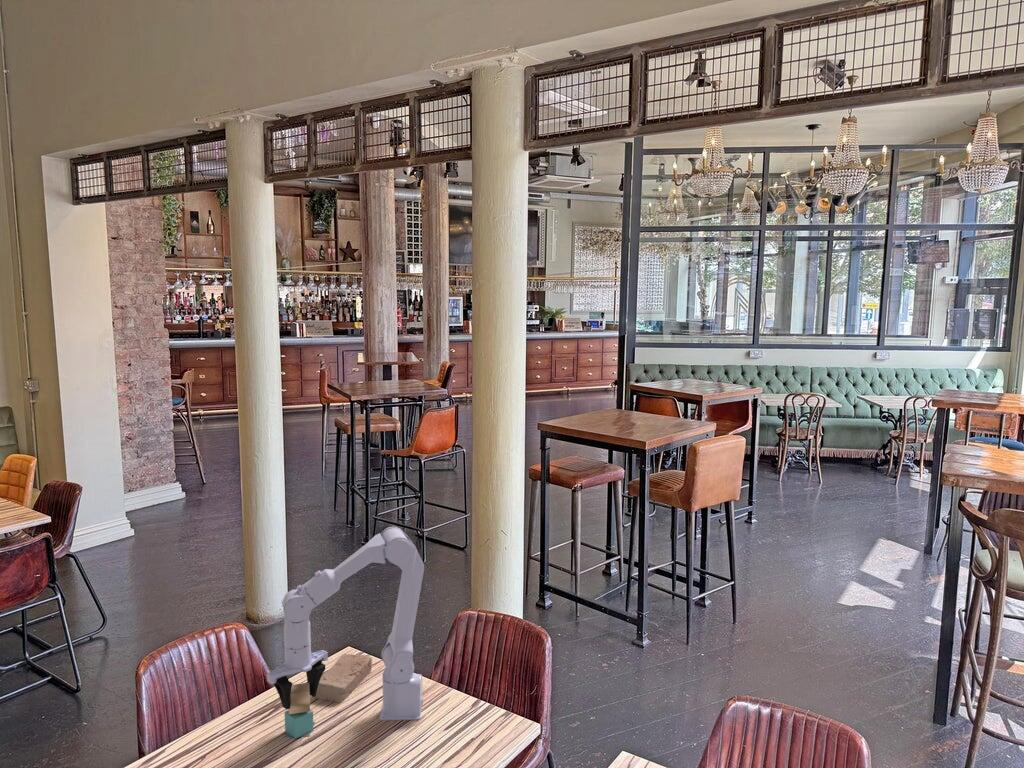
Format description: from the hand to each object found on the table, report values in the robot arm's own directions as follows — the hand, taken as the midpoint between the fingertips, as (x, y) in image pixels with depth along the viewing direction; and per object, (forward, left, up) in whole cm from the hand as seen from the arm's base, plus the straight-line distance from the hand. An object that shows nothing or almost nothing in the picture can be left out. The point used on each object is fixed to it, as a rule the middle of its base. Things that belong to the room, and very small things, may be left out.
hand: (299, 701), depth 158 cm
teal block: (0, +1, -7) cm, 7 cm away
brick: (-6, -20, -8) cm, 22 cm away
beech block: (0, 0, -2) cm, 2 cm away
